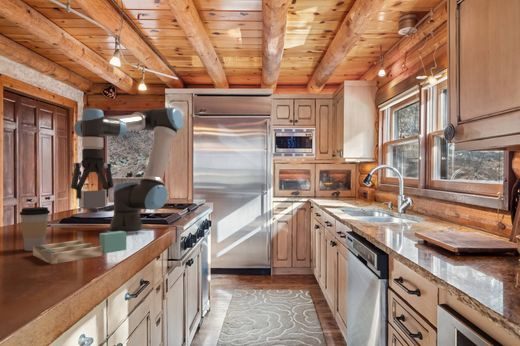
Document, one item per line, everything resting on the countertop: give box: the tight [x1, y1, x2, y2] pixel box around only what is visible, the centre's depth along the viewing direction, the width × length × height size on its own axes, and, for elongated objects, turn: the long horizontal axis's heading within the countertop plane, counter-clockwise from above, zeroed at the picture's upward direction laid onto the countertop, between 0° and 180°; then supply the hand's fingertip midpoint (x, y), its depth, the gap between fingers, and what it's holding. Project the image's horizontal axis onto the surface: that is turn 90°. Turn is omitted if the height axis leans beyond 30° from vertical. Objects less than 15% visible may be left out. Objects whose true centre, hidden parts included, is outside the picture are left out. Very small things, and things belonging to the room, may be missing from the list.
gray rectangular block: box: [79, 189, 106, 210], centre depth 136 cm, size 8×4×6 cm, turn 139°
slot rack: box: [32, 239, 104, 265], centre depth 117 cm, size 16×18×3 cm
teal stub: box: [98, 231, 127, 254], centre depth 125 cm, size 8×4×6 cm, turn 139°
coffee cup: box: [18, 206, 51, 252], centre depth 126 cm, size 9×9×15 cm
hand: (92, 206), depth 136 cm, fingers closed on gray rectangular block, 8 cm apart
